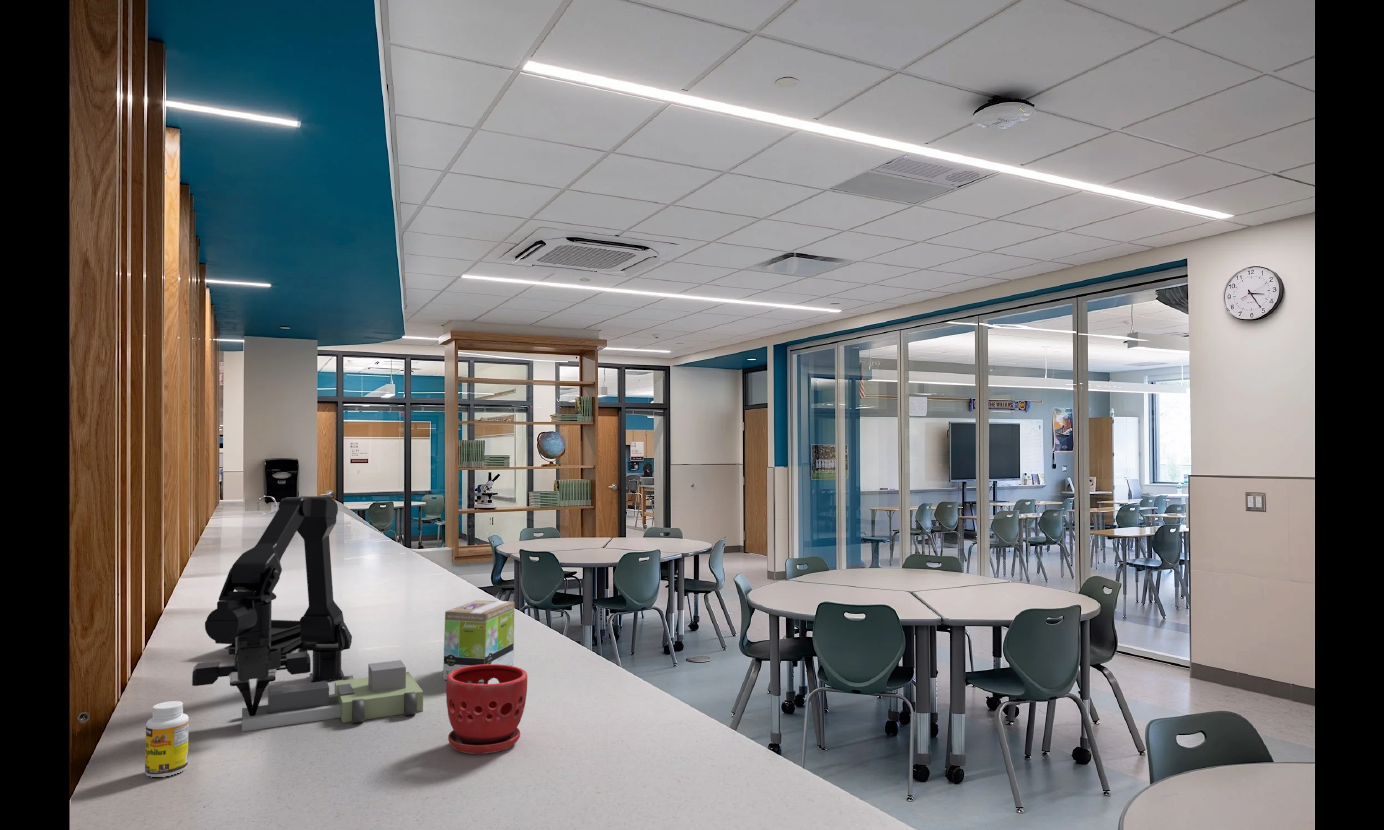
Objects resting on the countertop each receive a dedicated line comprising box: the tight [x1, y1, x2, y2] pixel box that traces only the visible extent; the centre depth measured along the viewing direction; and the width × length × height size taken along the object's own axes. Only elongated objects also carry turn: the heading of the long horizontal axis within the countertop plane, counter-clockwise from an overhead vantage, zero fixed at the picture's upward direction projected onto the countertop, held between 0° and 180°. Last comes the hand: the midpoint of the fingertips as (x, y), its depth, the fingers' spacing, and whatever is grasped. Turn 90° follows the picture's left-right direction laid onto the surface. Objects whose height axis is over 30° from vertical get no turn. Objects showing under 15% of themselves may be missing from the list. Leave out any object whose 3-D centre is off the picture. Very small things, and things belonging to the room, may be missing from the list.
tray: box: [214, 619, 308, 659], centre depth 205 cm, size 30×23×5 cm
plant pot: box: [445, 664, 528, 755], centre depth 139 cm, size 13×13×12 cm
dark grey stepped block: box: [267, 681, 330, 714], centre depth 155 cm, size 6×10×6 cm, turn 118°
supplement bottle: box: [144, 700, 190, 778], centre depth 128 cm, size 6×6×10 cm
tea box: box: [442, 599, 515, 683], centre depth 184 cm, size 15×10×15 cm
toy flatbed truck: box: [241, 659, 424, 732], centre depth 158 cm, size 22×30×8 cm
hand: (252, 716), depth 151 cm, fingers closed
